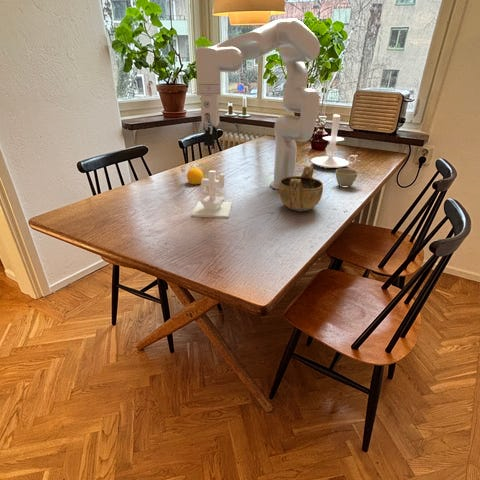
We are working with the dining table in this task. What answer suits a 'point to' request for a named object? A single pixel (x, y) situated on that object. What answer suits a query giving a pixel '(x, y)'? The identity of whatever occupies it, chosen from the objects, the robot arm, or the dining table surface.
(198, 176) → the apple
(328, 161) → the candlestick
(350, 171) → the flower pot
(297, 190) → the tan round basket
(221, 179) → the figurine
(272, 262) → the dining table surface
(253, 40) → the robot arm
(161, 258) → the dining table surface
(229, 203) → the cream board
